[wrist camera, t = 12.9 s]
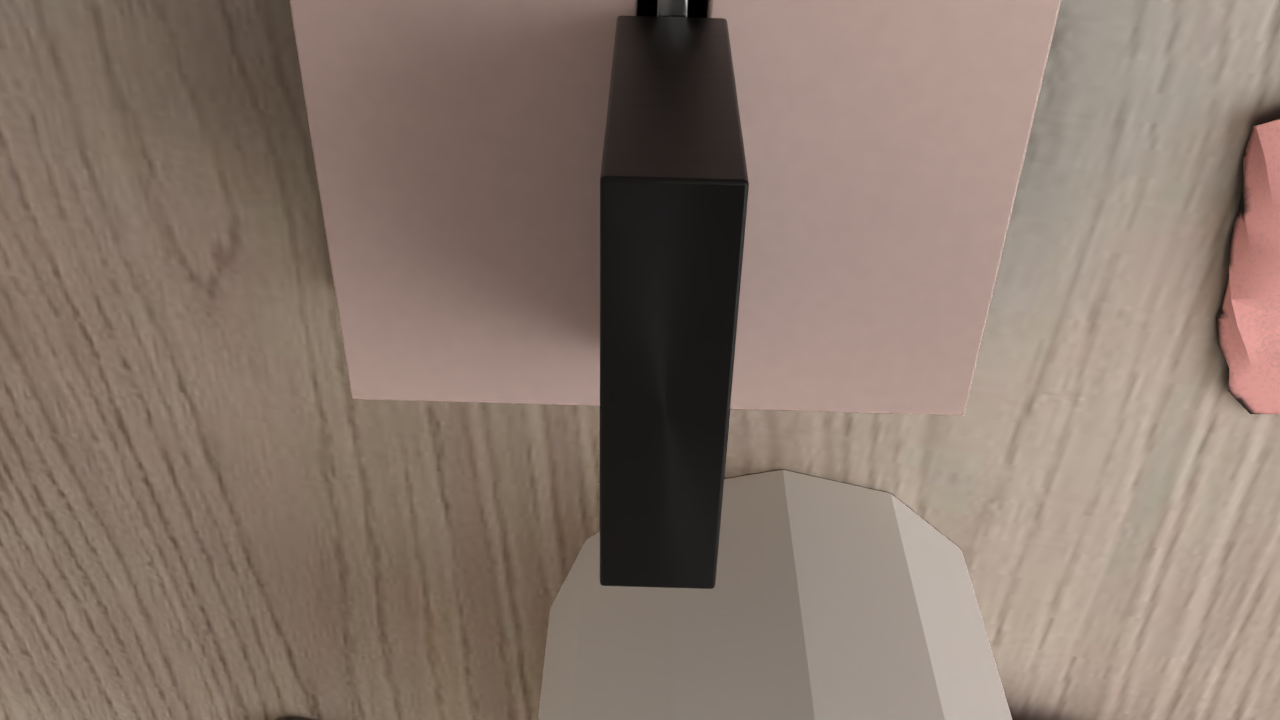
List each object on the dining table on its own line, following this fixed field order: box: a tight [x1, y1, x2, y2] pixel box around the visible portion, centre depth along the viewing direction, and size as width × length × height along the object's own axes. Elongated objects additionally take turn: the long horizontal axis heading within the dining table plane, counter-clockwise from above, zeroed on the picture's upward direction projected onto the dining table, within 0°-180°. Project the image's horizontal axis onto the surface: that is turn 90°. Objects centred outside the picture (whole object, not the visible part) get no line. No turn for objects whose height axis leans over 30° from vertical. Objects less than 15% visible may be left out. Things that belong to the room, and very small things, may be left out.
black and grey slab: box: [600, 0, 749, 589], centre depth 21 cm, size 8×2×13 cm, turn 179°
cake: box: [289, 0, 1061, 415], centre depth 23 cm, size 13×13×7 cm
